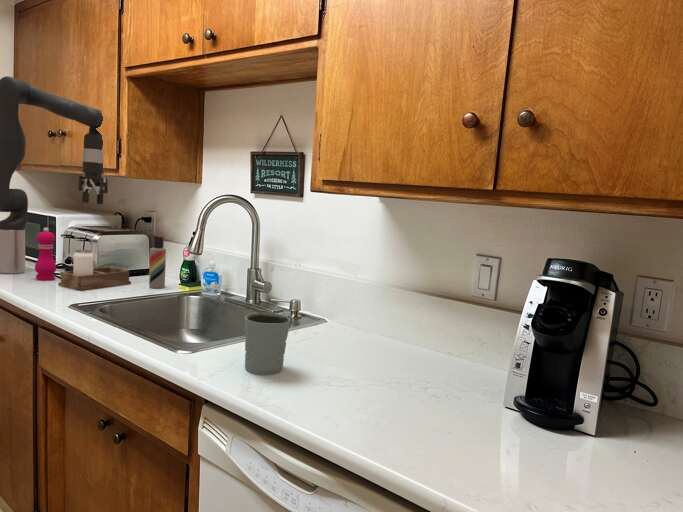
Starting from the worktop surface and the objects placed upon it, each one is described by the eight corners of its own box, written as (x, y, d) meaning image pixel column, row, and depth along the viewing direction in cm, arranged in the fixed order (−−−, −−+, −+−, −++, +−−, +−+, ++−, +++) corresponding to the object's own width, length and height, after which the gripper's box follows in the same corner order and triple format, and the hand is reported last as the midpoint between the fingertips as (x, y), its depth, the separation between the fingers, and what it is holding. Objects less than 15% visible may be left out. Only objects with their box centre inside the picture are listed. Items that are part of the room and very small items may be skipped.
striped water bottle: (146, 286, 198) (148, 234, 195) (161, 285, 202) (162, 235, 199) (152, 289, 194) (154, 236, 191) (167, 288, 197) (168, 236, 195)
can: (74, 285, 184) (75, 252, 183) (71, 282, 190) (72, 249, 188) (94, 284, 188) (95, 252, 187) (91, 281, 193) (91, 249, 192)
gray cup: (233, 366, 118) (236, 315, 116) (267, 358, 125) (270, 310, 124) (261, 379, 111) (264, 325, 109) (295, 370, 118) (299, 319, 117)
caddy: (58, 285, 187) (58, 271, 187) (108, 279, 206) (109, 266, 205) (81, 291, 181) (81, 276, 181) (130, 284, 200) (131, 271, 199)
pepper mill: (30, 279, 194) (30, 226, 192) (46, 276, 201) (46, 226, 199) (45, 281, 192) (45, 228, 190) (60, 279, 199) (61, 227, 197)
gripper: (72, 159, 198) (72, 201, 200) (96, 161, 192) (95, 204, 194) (90, 161, 205) (89, 202, 207) (114, 163, 198) (113, 205, 200)
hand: (92, 203), depth 200 cm, fingers open, 8 cm apart
